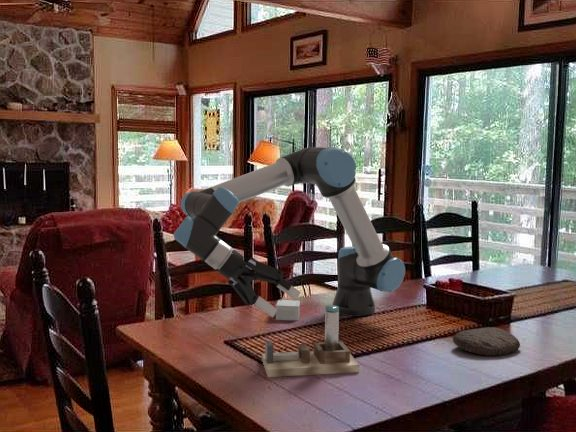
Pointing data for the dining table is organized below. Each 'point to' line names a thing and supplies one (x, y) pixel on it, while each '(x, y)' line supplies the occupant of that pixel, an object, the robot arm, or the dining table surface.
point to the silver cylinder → (331, 327)
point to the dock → (313, 362)
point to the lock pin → (277, 357)
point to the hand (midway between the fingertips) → (286, 305)
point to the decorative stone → (486, 341)
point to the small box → (287, 310)
